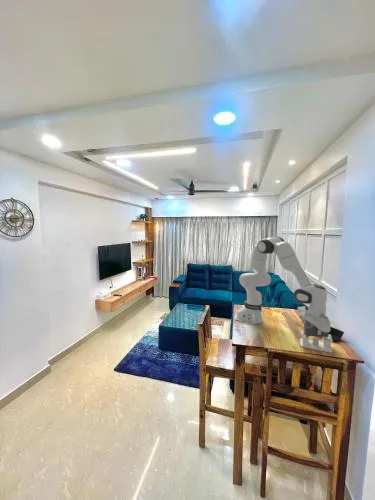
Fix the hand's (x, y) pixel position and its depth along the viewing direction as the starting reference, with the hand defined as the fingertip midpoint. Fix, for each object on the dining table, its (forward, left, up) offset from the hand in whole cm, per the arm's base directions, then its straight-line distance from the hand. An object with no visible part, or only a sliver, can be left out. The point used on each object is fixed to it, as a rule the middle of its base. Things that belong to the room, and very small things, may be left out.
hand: (316, 332), depth 136 cm
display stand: (0, 0, -9) cm, 9 cm away
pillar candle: (0, +27, -9) cm, 28 cm away
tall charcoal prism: (0, 0, -2) cm, 2 cm away
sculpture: (+2, +49, -9) cm, 50 cm away
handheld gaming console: (+9, +15, -10) cm, 20 cm away
